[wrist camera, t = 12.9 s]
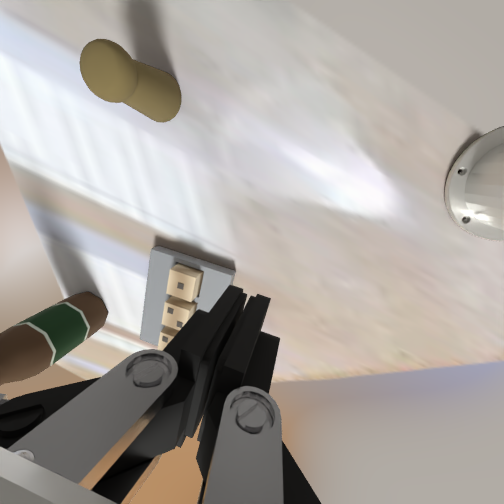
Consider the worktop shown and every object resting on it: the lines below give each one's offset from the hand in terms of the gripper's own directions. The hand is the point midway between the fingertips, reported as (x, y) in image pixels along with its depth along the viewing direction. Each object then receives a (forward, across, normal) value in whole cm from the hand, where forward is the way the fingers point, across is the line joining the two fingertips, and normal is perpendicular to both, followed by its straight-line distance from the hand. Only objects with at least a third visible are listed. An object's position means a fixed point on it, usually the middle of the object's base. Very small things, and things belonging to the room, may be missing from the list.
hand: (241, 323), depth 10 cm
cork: (+27, +21, -10) cm, 36 cm away
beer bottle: (+26, +30, +27) cm, 48 cm away
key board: (+27, +12, +19) cm, 35 cm away
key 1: (+26, +12, +14) cm, 32 cm away
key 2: (+26, +12, +19) cm, 35 cm away
